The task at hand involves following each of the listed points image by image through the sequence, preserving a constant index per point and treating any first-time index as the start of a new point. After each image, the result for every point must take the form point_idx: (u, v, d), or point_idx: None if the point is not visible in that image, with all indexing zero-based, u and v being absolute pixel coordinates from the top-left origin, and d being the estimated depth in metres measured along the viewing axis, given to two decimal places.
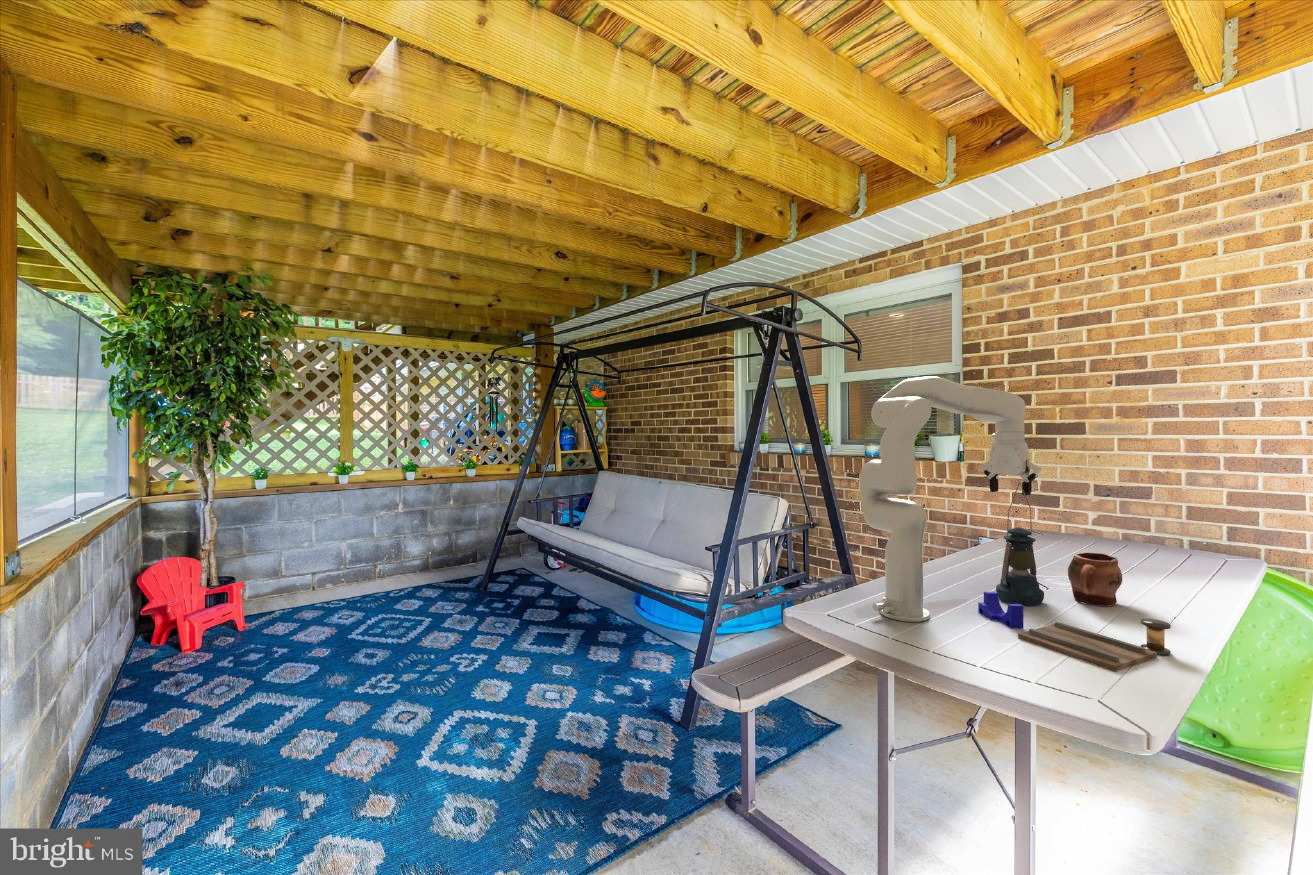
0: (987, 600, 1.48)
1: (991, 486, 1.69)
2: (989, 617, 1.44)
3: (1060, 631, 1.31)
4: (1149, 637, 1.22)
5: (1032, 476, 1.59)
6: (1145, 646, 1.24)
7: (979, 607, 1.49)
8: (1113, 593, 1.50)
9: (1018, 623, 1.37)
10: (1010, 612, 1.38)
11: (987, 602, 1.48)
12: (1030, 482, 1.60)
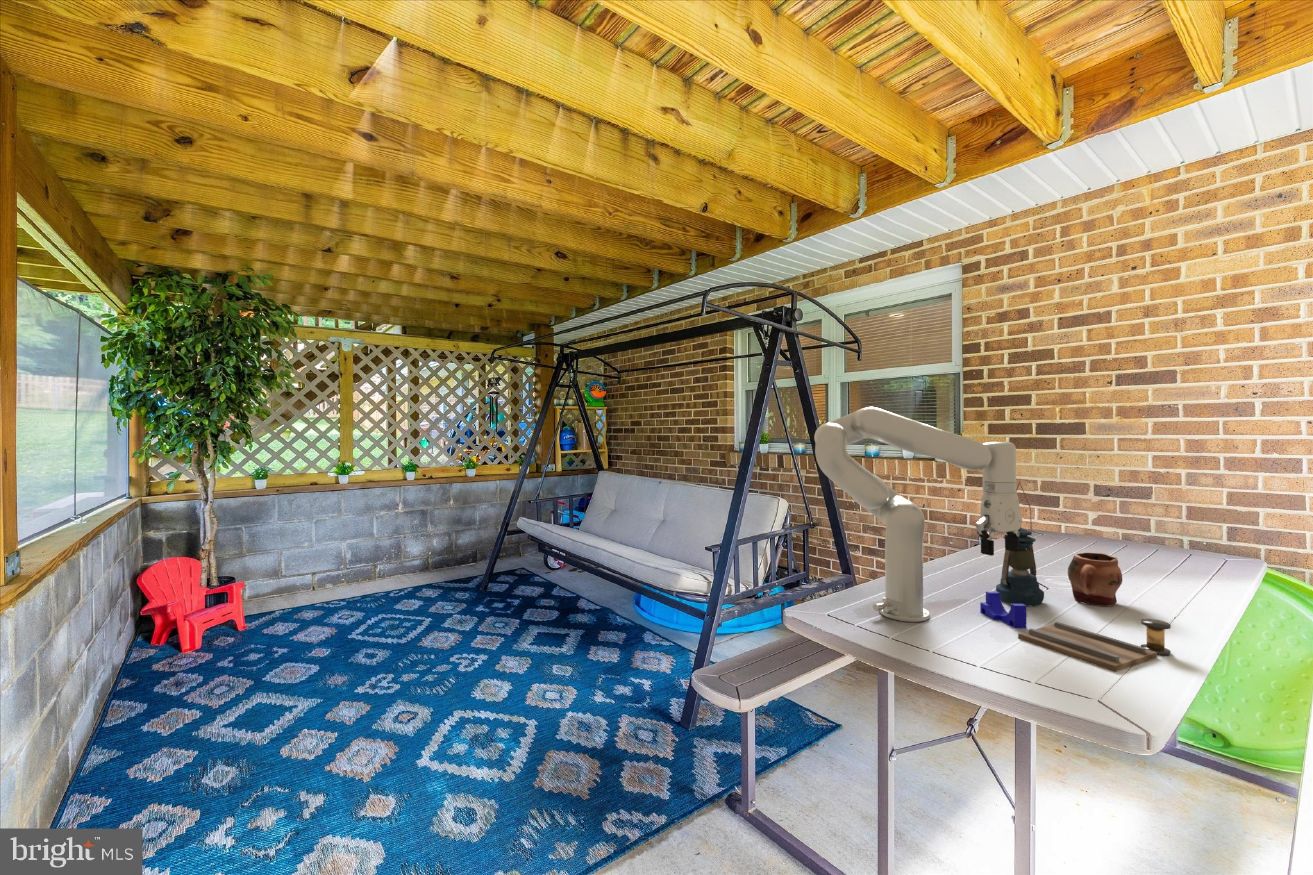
0: (989, 600, 1.48)
1: (993, 548, 1.40)
2: (992, 617, 1.44)
3: (1060, 631, 1.31)
4: (1149, 637, 1.22)
5: (1019, 529, 1.45)
6: (1145, 646, 1.24)
7: (981, 607, 1.49)
8: (1113, 593, 1.50)
9: (1021, 623, 1.37)
10: (1013, 612, 1.38)
11: (989, 602, 1.48)
12: None
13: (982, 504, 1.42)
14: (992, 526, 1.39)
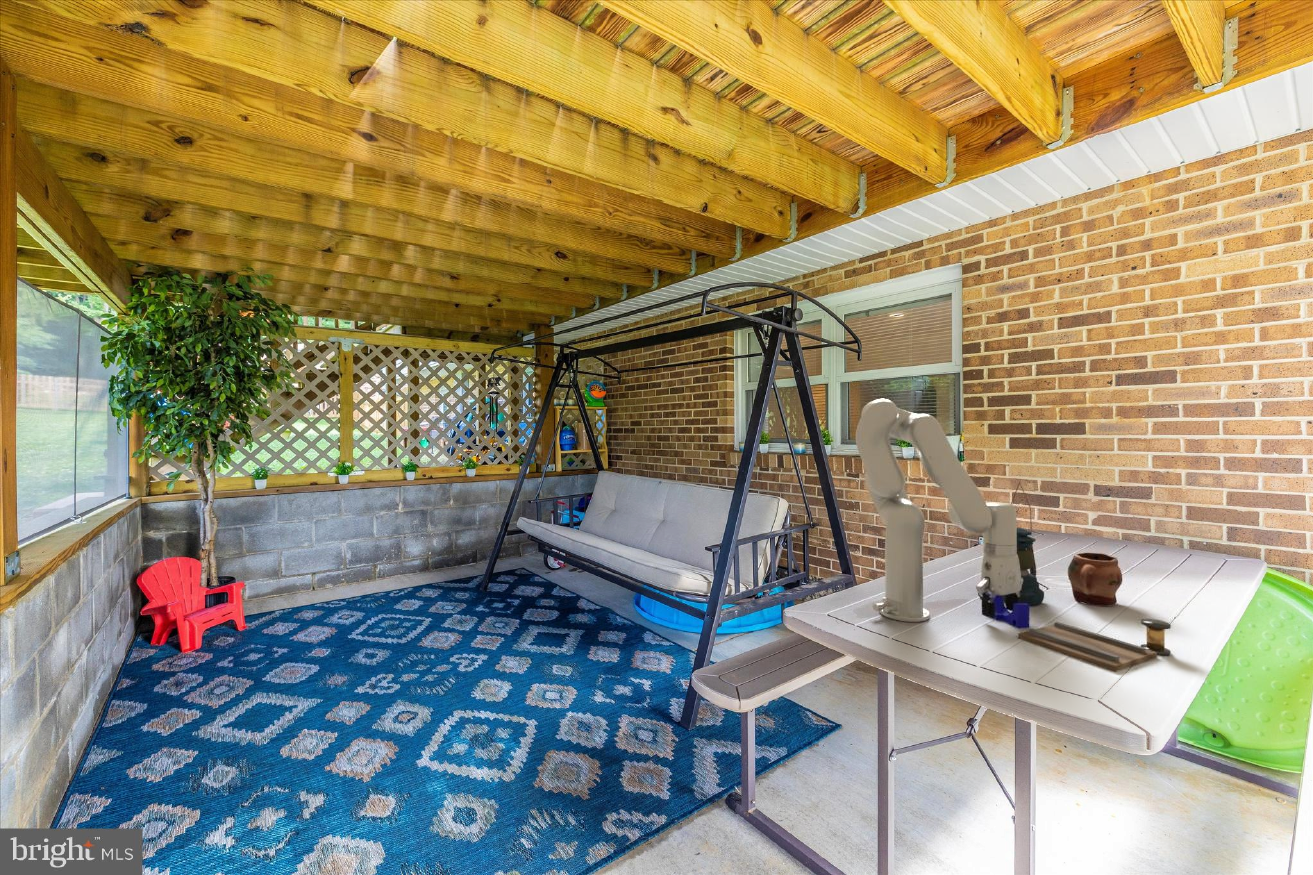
0: None
1: (994, 611, 1.40)
2: None
3: (1060, 631, 1.31)
4: (1149, 637, 1.22)
5: (1020, 589, 1.45)
6: (1145, 646, 1.24)
7: None
8: (1113, 593, 1.50)
9: (1024, 622, 1.38)
10: (1016, 611, 1.38)
11: None
12: None
13: (983, 565, 1.42)
14: (993, 589, 1.40)
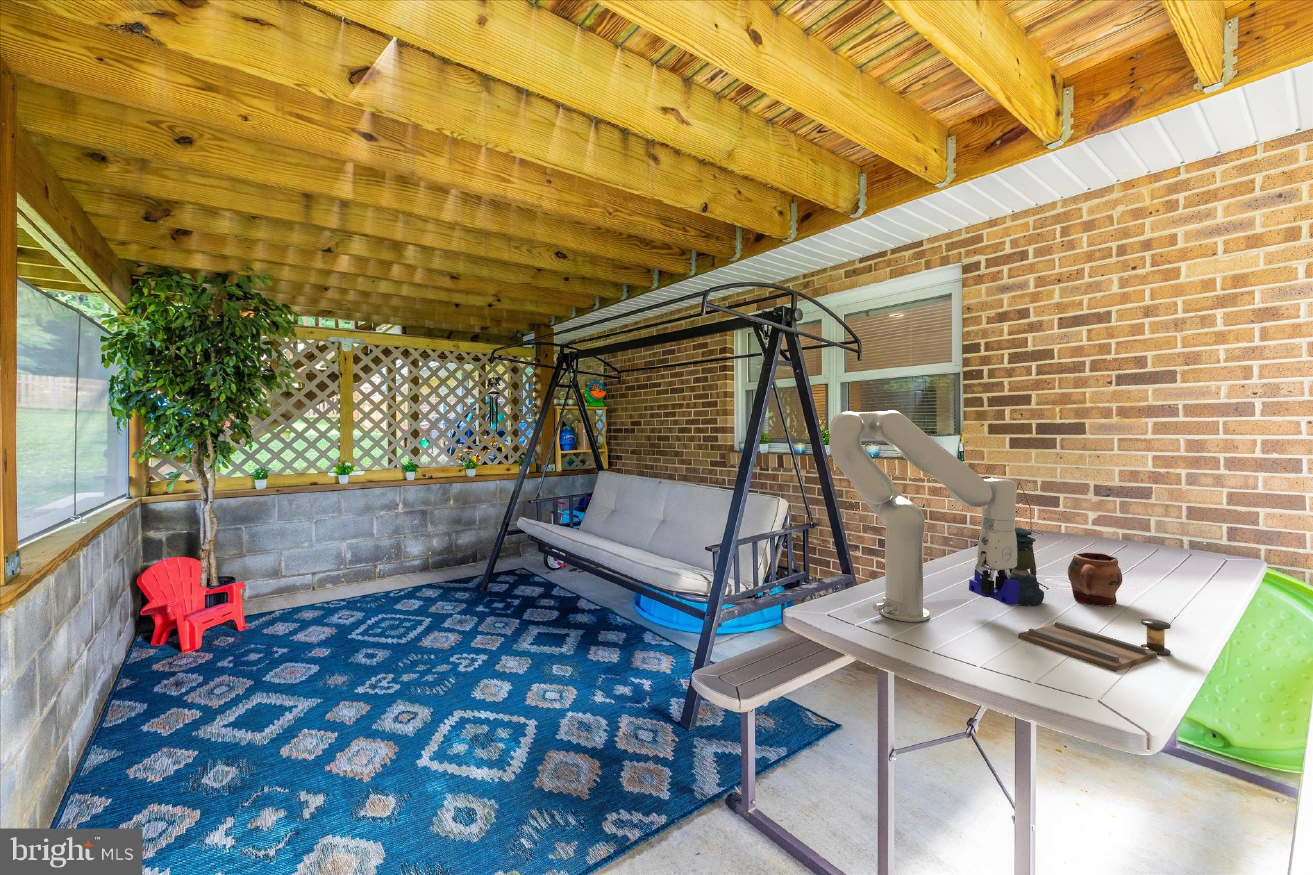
0: (978, 577, 1.48)
1: (993, 589, 1.41)
2: (983, 594, 1.44)
3: (1060, 631, 1.31)
4: (1149, 637, 1.22)
5: (1010, 571, 1.44)
6: (1145, 646, 1.24)
7: (970, 584, 1.49)
8: (1113, 593, 1.50)
9: (1014, 598, 1.38)
10: (1007, 588, 1.38)
11: (978, 579, 1.48)
12: None
13: (980, 540, 1.42)
14: (989, 563, 1.40)
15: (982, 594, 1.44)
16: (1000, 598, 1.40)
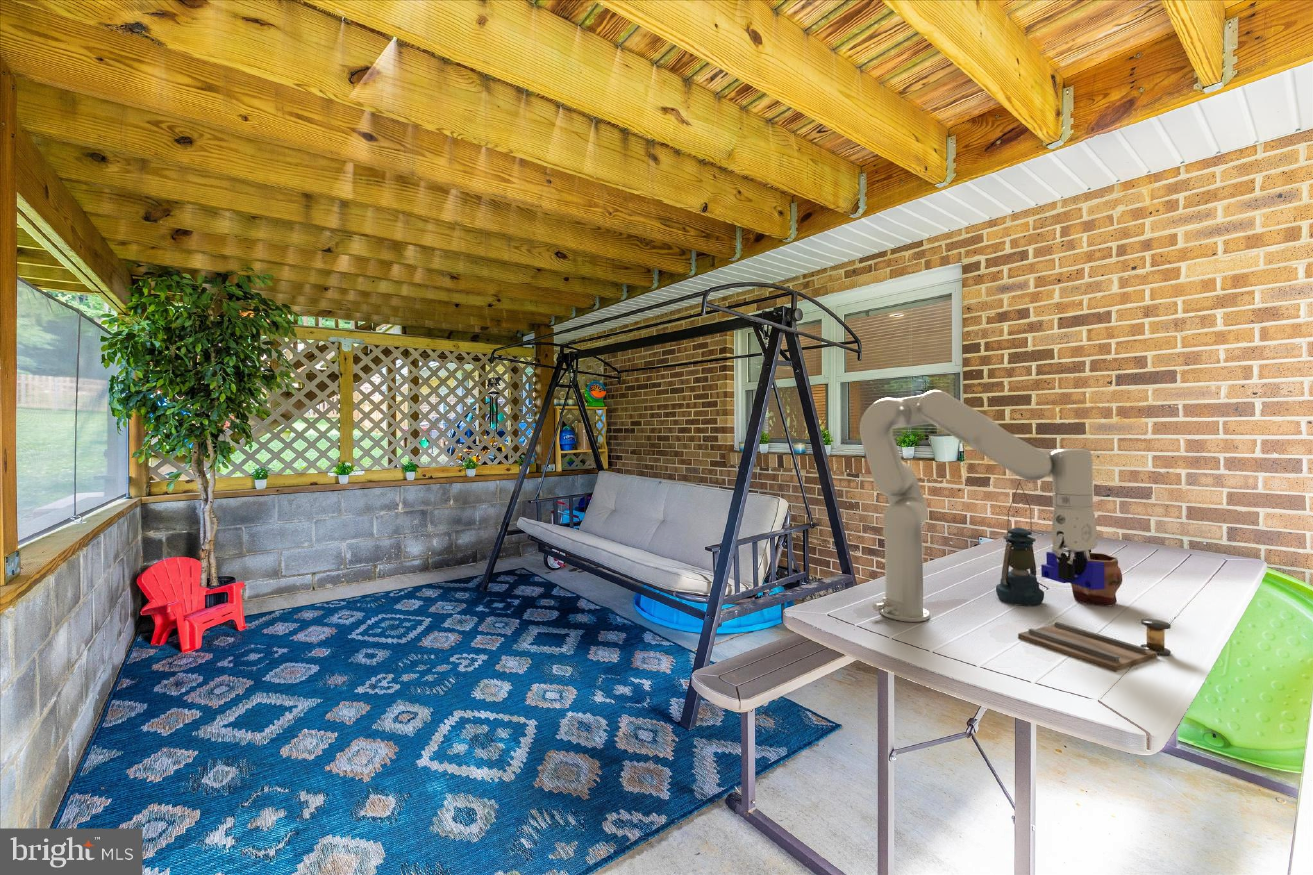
0: (1052, 561, 1.31)
1: (1074, 573, 1.24)
2: (1060, 579, 1.27)
3: (1060, 631, 1.31)
4: (1149, 637, 1.22)
5: (1089, 552, 1.28)
6: (1145, 646, 1.24)
7: (1043, 570, 1.32)
8: (1113, 593, 1.50)
9: (1099, 582, 1.21)
10: (1091, 571, 1.21)
11: (1052, 563, 1.31)
12: None
13: (1054, 519, 1.26)
14: (1067, 544, 1.23)
15: (1059, 580, 1.28)
16: (1083, 583, 1.23)
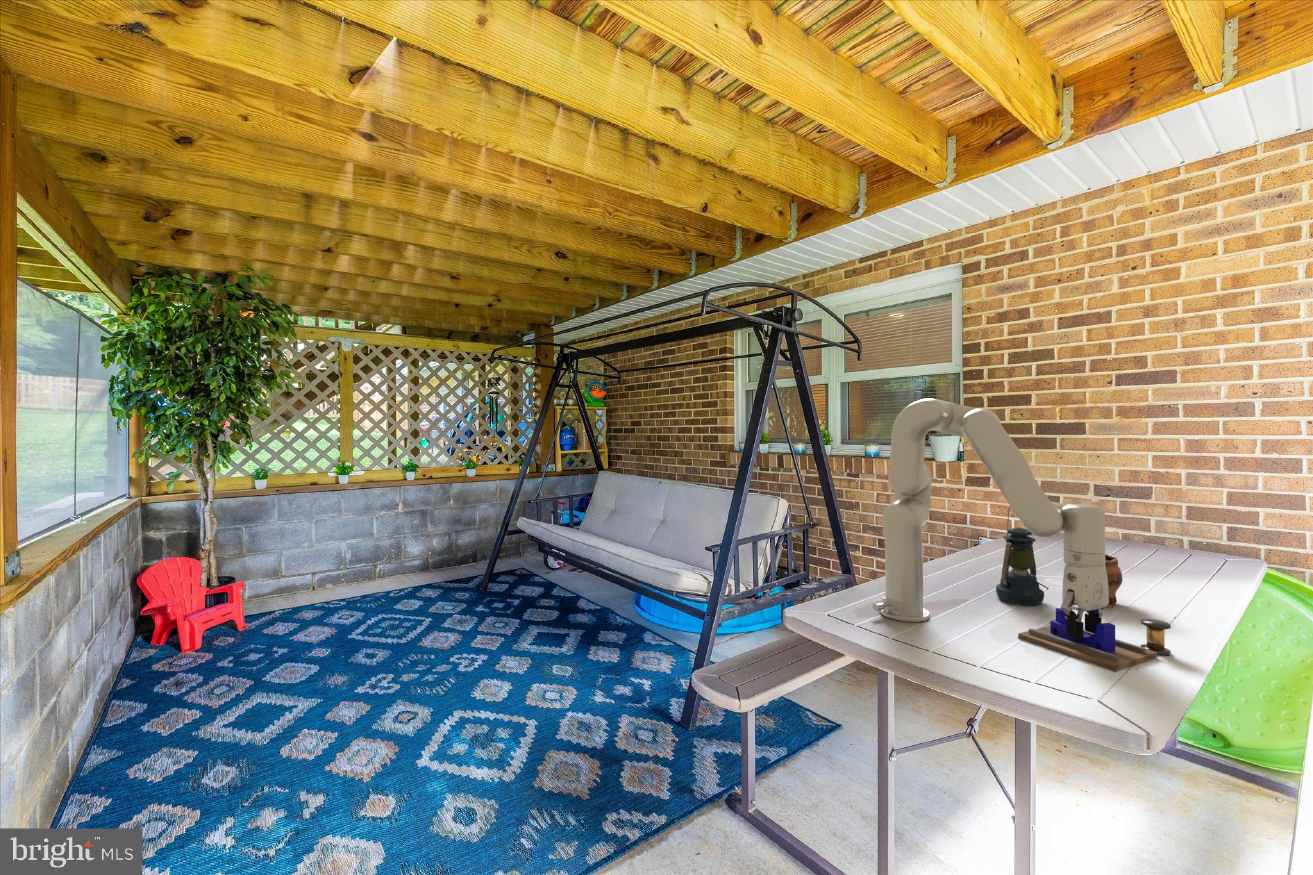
0: (1061, 618, 1.29)
1: (1083, 632, 1.22)
2: (1070, 638, 1.26)
3: None
4: (1149, 637, 1.22)
5: (1102, 608, 1.26)
6: (1145, 646, 1.24)
7: (1052, 626, 1.30)
8: (1113, 593, 1.50)
9: (1110, 645, 1.19)
10: (1101, 633, 1.19)
11: (1062, 620, 1.29)
12: None
13: (1065, 576, 1.24)
14: (1078, 603, 1.21)
15: (1069, 639, 1.26)
16: (1093, 644, 1.22)
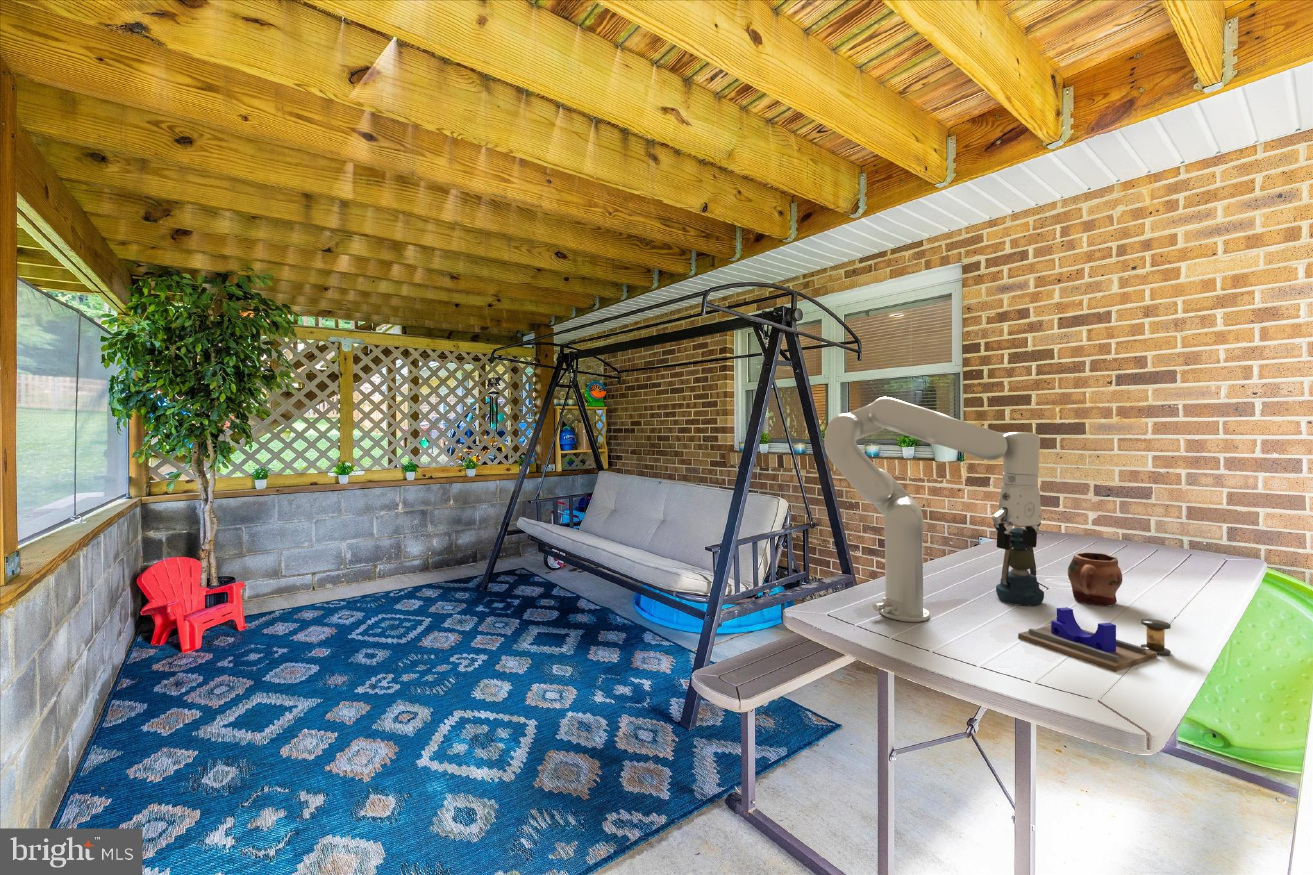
0: (1062, 618, 1.29)
1: (1010, 543, 1.34)
2: (1070, 638, 1.26)
3: None
4: (1149, 637, 1.22)
5: (1039, 524, 1.39)
6: (1145, 646, 1.24)
7: (1053, 626, 1.30)
8: (1113, 593, 1.50)
9: (1111, 645, 1.19)
10: (1102, 633, 1.19)
11: (1062, 620, 1.29)
12: None
13: (1001, 496, 1.36)
14: (1010, 519, 1.34)
15: (1070, 639, 1.26)
16: (1093, 644, 1.22)
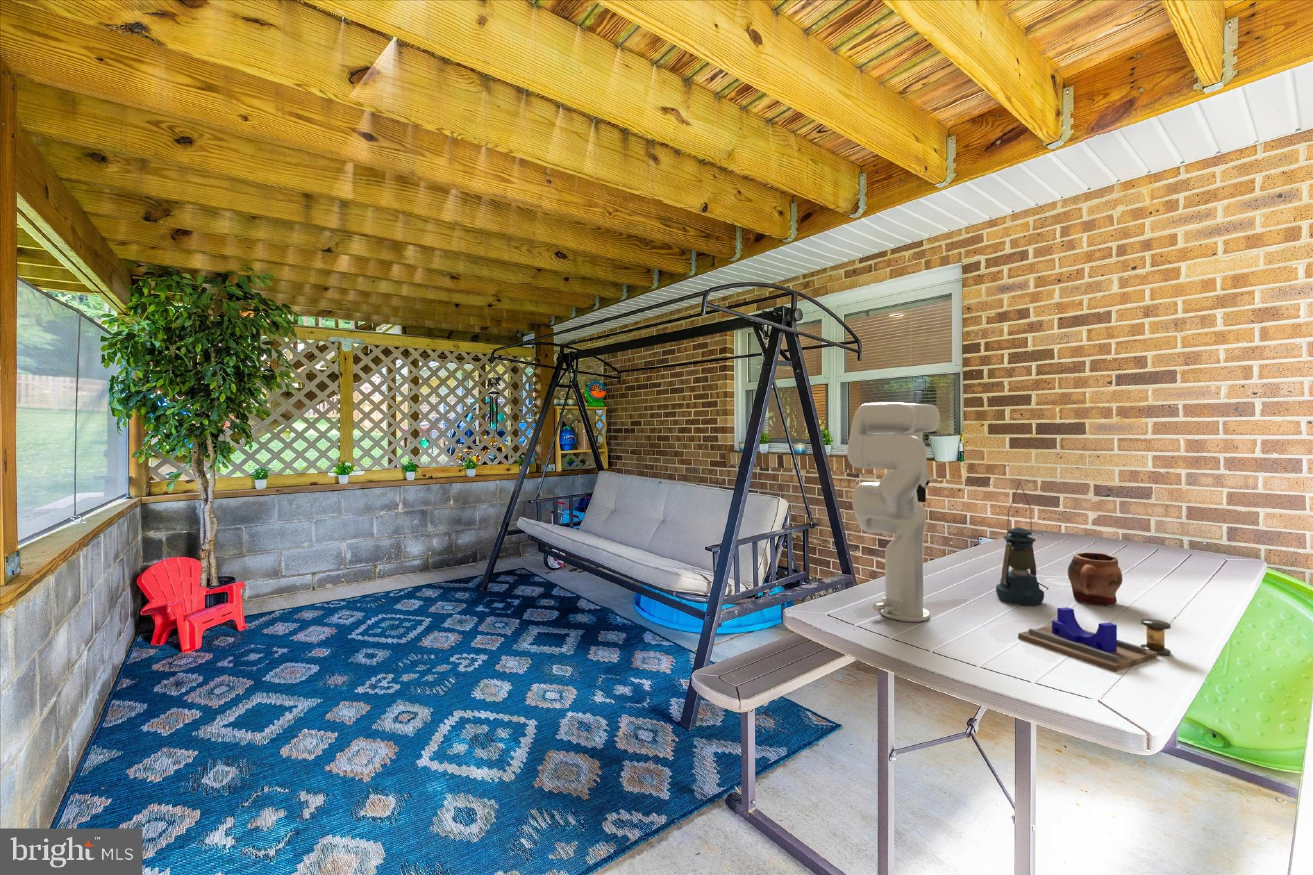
0: (1063, 618, 1.29)
1: None
2: (1071, 638, 1.26)
3: None
4: (1149, 637, 1.22)
5: (928, 483, 1.67)
6: (1145, 646, 1.24)
7: (1053, 626, 1.30)
8: (1113, 593, 1.50)
9: (1111, 645, 1.19)
10: (1103, 633, 1.20)
11: (1063, 620, 1.29)
12: None
13: None
14: None
15: (1070, 639, 1.26)
16: (1094, 644, 1.22)
